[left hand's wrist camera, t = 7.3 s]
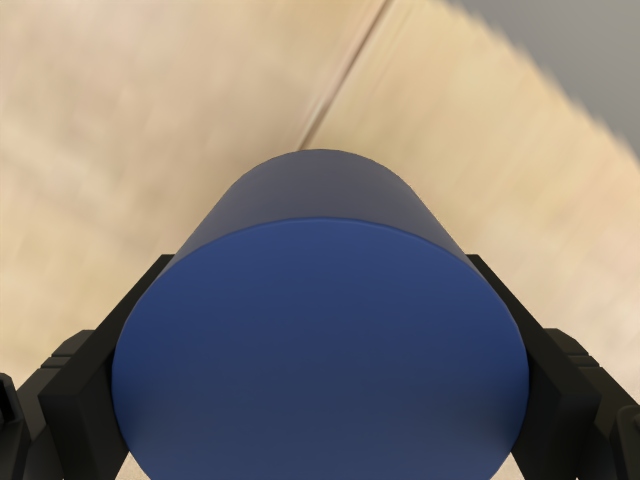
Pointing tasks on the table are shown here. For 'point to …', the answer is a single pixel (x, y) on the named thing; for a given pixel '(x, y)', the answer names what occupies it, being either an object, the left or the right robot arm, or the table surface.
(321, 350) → the canister
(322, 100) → the table surface
